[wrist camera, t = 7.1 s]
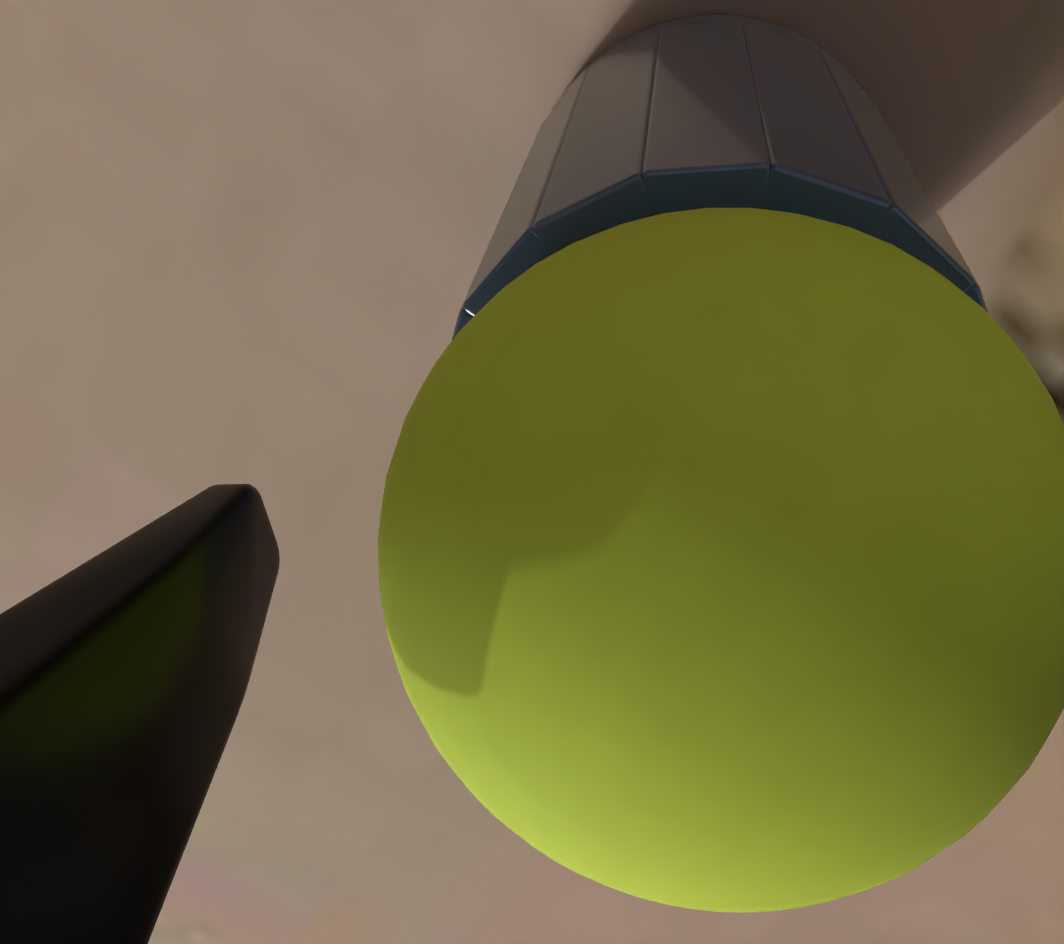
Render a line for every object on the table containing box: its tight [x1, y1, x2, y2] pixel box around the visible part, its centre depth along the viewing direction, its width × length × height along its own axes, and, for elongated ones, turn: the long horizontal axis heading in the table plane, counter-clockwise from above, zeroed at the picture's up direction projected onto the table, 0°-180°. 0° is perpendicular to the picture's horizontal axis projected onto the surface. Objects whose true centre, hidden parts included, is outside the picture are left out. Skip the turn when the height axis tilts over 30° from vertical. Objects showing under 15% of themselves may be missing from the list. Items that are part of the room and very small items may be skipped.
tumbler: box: [451, 15, 988, 342], centre depth 13 cm, size 6×6×7 cm
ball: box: [378, 208, 1064, 913], centre depth 9 cm, size 6×6×6 cm
